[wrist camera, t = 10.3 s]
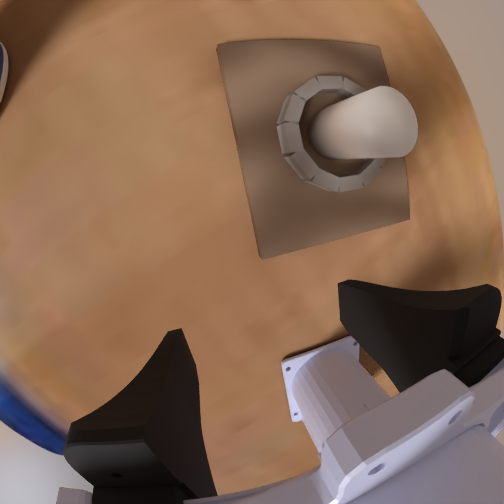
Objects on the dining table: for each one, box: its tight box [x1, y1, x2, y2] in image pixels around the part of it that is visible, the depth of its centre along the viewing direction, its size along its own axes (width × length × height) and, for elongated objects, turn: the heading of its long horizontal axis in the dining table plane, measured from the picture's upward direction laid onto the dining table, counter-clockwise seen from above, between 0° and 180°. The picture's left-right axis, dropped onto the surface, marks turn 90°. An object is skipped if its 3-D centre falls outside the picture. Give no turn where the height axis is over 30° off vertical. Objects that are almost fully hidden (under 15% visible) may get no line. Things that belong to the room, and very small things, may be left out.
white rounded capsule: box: [308, 86, 418, 160], centre depth 16 cm, size 4×4×7 cm
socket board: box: [216, 39, 410, 260], centre depth 19 cm, size 16×14×2 cm
